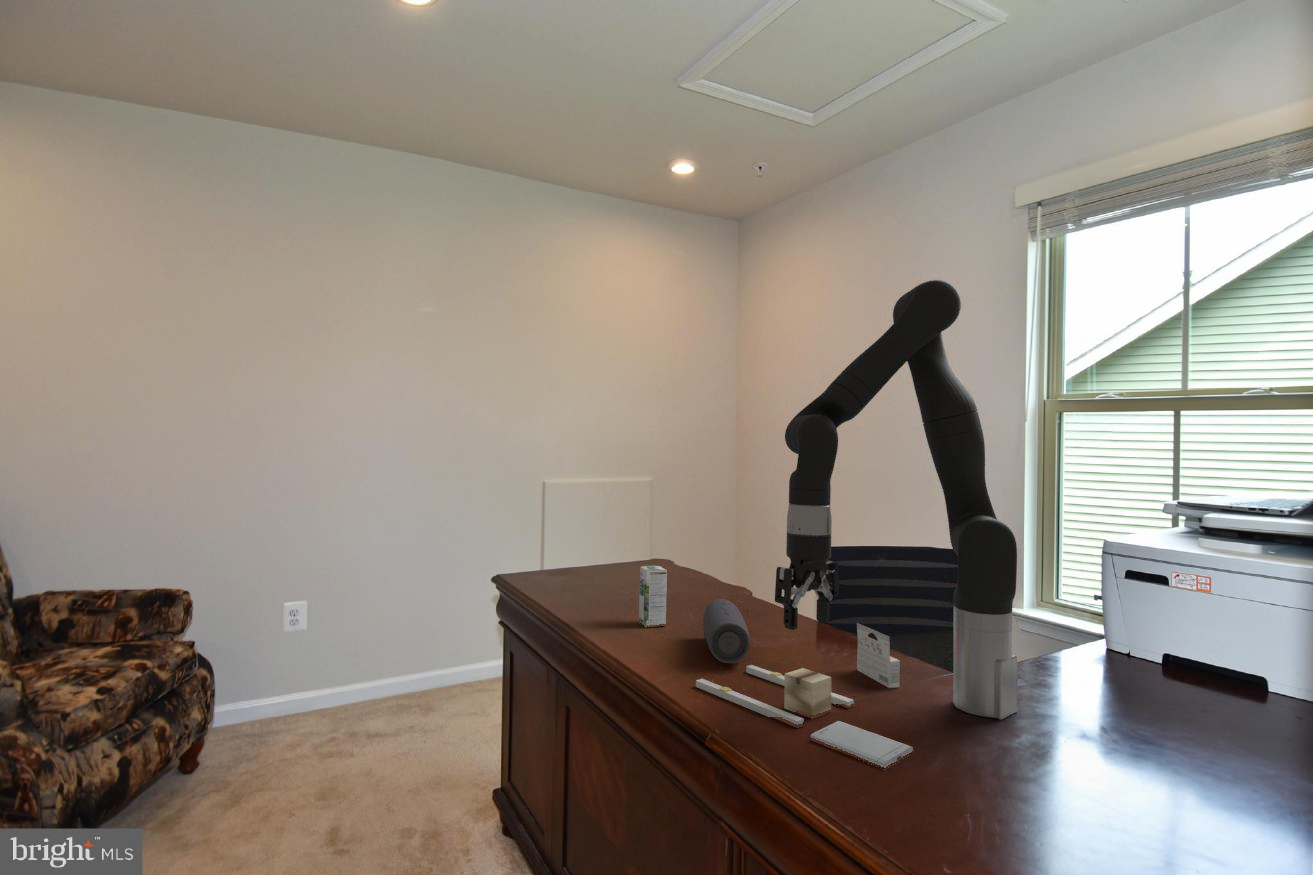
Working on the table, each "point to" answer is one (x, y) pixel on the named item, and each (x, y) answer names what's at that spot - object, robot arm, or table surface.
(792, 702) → the block
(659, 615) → the syrup box
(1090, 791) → the table surface
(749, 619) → the table surface
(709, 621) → the bluetooth speaker
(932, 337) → the robot arm
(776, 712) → the slot rails
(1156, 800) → the table surface
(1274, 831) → the table surface
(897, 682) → the ink cartridge box
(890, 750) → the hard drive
